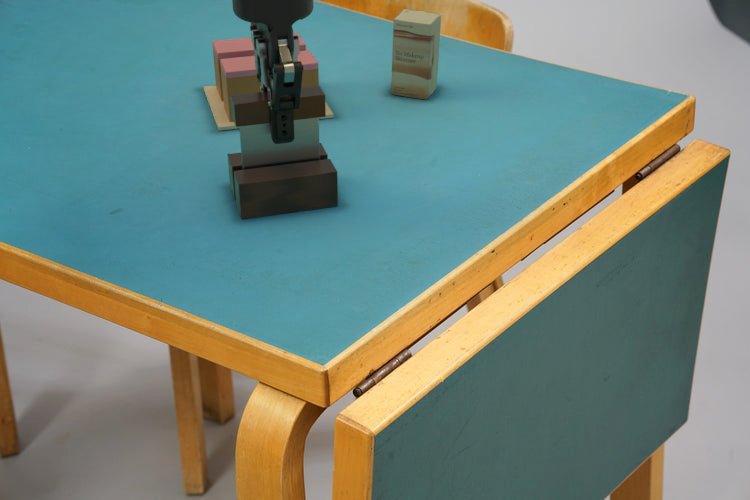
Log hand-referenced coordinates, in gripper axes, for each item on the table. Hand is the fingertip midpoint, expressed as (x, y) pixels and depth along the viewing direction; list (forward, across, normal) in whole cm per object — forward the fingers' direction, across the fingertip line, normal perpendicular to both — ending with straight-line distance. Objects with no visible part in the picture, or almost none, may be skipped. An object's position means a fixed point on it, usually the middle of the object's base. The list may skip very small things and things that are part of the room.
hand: (280, 134), depth 99 cm
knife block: (+7, 0, 0) cm, 7 cm away
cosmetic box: (+7, -23, +22) cm, 33 cm away
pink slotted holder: (+7, -24, +3) cm, 26 cm away
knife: (+7, 0, 0) cm, 7 cm away
